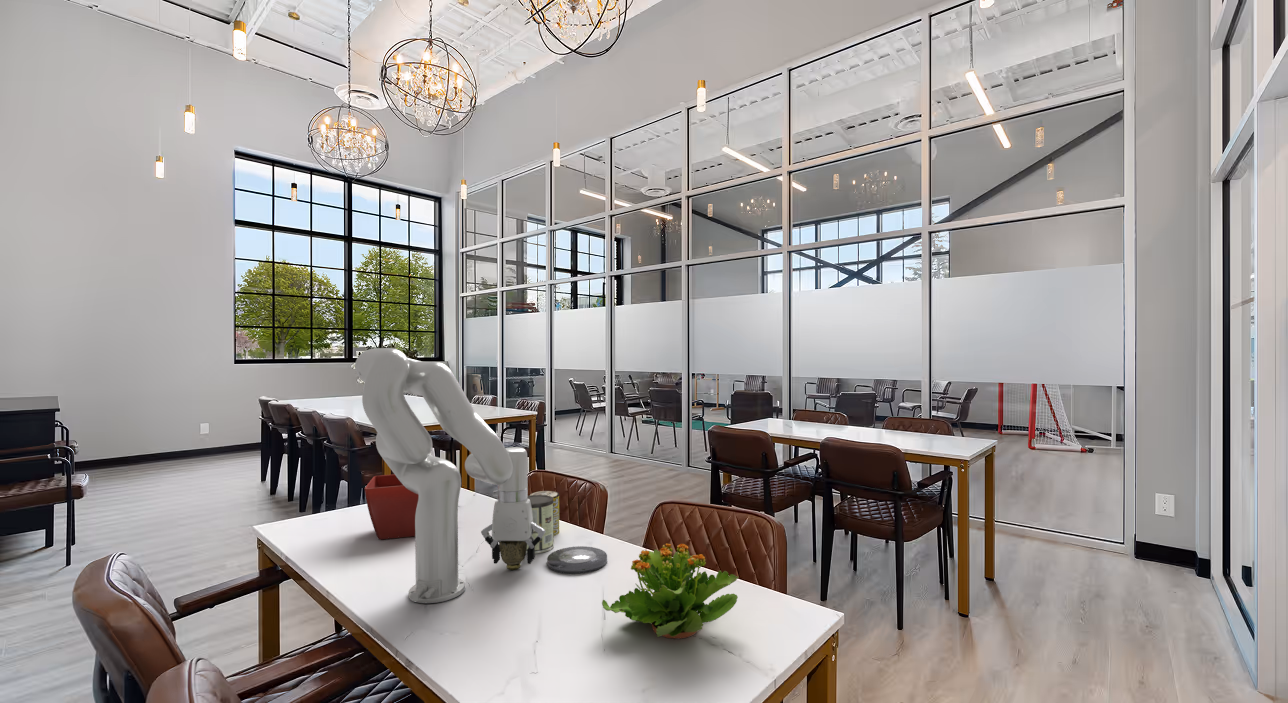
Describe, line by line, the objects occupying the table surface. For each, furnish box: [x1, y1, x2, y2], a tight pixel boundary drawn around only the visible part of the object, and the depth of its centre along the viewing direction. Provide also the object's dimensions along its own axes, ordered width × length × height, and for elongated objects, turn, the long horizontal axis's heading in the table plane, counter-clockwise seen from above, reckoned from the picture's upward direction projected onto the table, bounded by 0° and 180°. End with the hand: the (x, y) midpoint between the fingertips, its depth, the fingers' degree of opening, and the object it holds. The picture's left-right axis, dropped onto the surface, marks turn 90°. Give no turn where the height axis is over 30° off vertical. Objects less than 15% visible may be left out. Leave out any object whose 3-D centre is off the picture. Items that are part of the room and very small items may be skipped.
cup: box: [498, 541, 527, 572], centre depth 148 cm, size 8×7×8 cm
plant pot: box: [364, 473, 419, 540], centre depth 179 cm, size 19×19×17 cm
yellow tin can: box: [529, 490, 560, 537], centre depth 177 cm, size 9×9×12 cm
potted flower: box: [601, 543, 739, 640], centre depth 115 cm, size 25×24×18 cm
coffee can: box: [526, 495, 555, 555], centre depth 163 cm, size 10×10×14 cm
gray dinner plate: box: [546, 545, 608, 575], centre depth 152 cm, size 16×16×2 cm
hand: (513, 561), depth 148 cm, fingers open, 8 cm apart
